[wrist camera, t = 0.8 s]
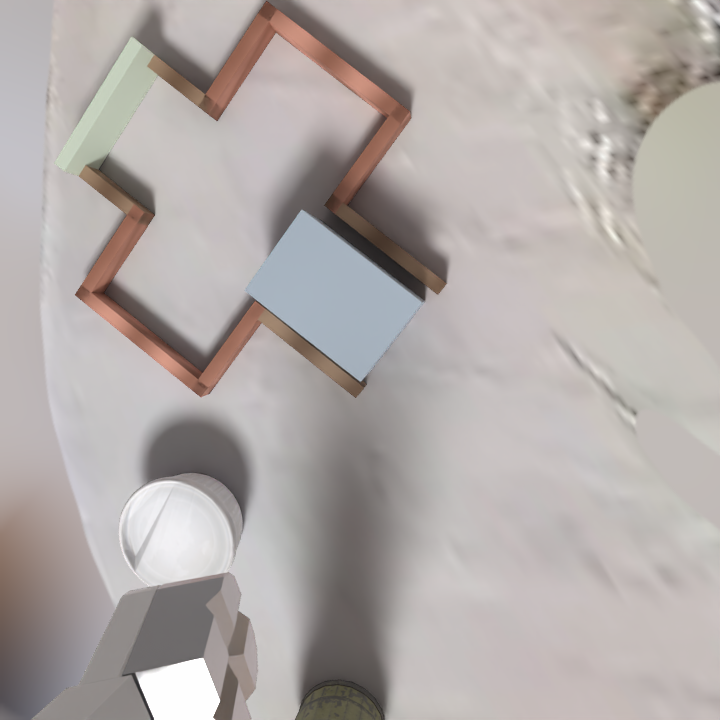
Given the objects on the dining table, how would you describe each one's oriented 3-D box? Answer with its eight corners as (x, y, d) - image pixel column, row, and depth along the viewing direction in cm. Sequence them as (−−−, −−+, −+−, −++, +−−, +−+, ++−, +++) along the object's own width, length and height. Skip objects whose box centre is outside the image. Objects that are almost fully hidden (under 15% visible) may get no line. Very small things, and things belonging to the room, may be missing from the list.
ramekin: (139, 464, 57) (109, 482, 52) (246, 459, 56) (225, 477, 50) (153, 571, 58) (125, 598, 53) (258, 569, 57) (239, 597, 52)
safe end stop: (165, 63, 52) (142, 44, 48) (91, 180, 54) (64, 171, 50) (155, 55, 52) (131, 36, 48) (82, 172, 54) (54, 163, 51)
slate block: (425, 301, 51) (422, 302, 45) (371, 370, 53) (360, 382, 46) (320, 220, 52) (301, 209, 45) (270, 290, 53) (244, 290, 46)
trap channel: (514, 198, 49) (517, 194, 47) (300, 467, 55) (295, 473, 53) (222, -28, 50) (213, -41, 48) (42, 258, 56) (28, 257, 54)
